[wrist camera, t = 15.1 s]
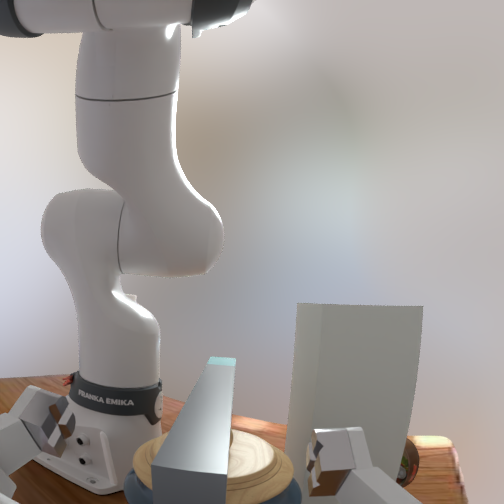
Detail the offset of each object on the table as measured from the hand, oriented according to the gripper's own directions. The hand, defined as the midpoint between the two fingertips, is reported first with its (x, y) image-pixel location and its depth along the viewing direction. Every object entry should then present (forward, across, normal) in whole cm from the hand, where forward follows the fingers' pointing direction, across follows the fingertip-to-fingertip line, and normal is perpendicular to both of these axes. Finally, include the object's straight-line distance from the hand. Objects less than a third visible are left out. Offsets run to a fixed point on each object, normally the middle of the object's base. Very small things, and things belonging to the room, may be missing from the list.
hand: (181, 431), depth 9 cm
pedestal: (+12, -13, +32) cm, 36 cm away
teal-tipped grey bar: (+8, 0, +9) cm, 12 cm away
